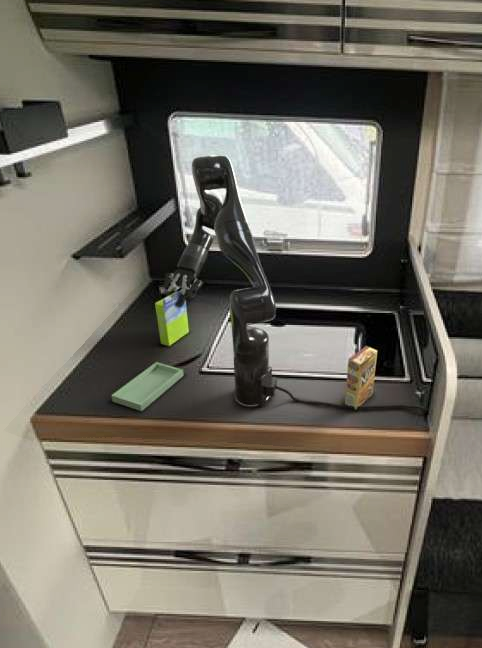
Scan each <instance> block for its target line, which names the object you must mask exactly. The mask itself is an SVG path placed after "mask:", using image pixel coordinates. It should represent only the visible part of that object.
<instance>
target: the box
mask: <svg viewBox="0 0 482 648" xmlns="http://www.w3.org/2000/svg"><path fill="white" fill-rule="evenodd" d="M181 293H182V289H180V290H178V291H176V292H175V293H173V294H171V295H169V296H167V297H166V296H165V297H166V298H165V297H164V298H162V299H160V300H158V301H156V302H155V303H154V307H155V313H156V320H157V325H158V333H159V339H160V344H161V345H164V346H168V347H171V346H172V345H173V344H174V343H176V342H177V341H179V340H180V339H181V338H183V337H185V336H186V335H187V334H188V333H190V329H189V322H188V321H189V320H188V310H187V301H186V300H187V299H186V300H185V303H184V305H183V306H182V307H178V306H176V303H177V301H178V299H179V296H180V295H182V294H181Z"/></svg>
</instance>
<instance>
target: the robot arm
mask: <svg viewBox="0 0 482 648" xmlns="http://www.w3.org/2000/svg"><path fill="white" fill-rule="evenodd" d="M191 173H192V178H193V182H194V183H193V184H194V187H195V190H196V193H197V197H198V199H199V208H198V209H197V211H196V214H195V222H194V228H193V232H192V234H191V237H190V239H189V241H188V243H187V245H186V247H185V248H184V250H183V253H182V255H181V256H180V258H179V261H178V263H177V265H176V267H177V268H176V270H175V271H174V272H172V273H170V272H166V273H165V275H164V284H163V289H164V290H165V291H167V292H166V294H165V297H164V298H166V297H167V296H169V295H171V294H173V293H175V292H178V291H177V290H179V289H180V288H181V290H182V293H181V294H182V295H180V296H179V299H178V301H177V303H176V306H178V307H182V306H183V305H184V303H185V300H187V298H189V297H191V298H193V297H194V296H195V295H196V293H197V292H198V291H199V290H200V289H201V287H202V286H203V285H204V282H203V281H201V280H200V279H198V276H199V275H200V274H201V271H202V269H203V267H204V265H205V262H206V260H207V258H208V253H209V250H210V248H211V246H212V244H213V243H214V237H213V235H212V234H211V233H209V231H206V230H205V229H204V228H203V227H205V228H206V229H210V230H212V231H214V234H215V237H216V238H215V239H216V241H217V245H218V248H219V250H220V252H221V253H222V255H223V256H224V257H225V258H226V259H228V261H230V263H232V264H233V265H234V266H236V267H237V268H238V269H239V270H240V271H242V273H243V274H244V275H245V277H246V278H247V280H248V281H249V283H250V285H251V286H252V287H246V288H240V289H235V290H232V291H231V292H230V294H229V297H228V306H229V307H228V308H229V316H230V323H231V324H230V325H231V338H232V351H233V353H232V354H233V355H232V356H233V373H234V374H233V375H234V398H235V399H234V400H235V402H236V403H237V404H238V405H239V406H241V407H243V408H250V409H251V408H263V406H265V404H266V403H267V402H268V401H269V399H270V398H271V397H274V396H275V394H276V390H278V391H281V392H284V393H286V394H287V395H288V396H289V397H290V398H291V399H292V400H293V401H294V402H298V403H301V404H308V405H320V406H321V405H322V406H328V407H333V408H334V407H335V408H341V409H352V410H353V409H354V410H355V408H354V406H348V405H346V404H338V403H333V402H332V403H331V402H325V401H315V400H303V399H301V398H300V399H299V398H297V397H295V396H294V395H293V394H292V393H291V391H289V390H288V389H286V388H284V387H281V386H278V377H275V376H273V367H272V366H270V338H269V334H268V333H267V331H266V330H264V329H263V328H259V327H256V326H253V325H257V324H261V323H262V324H263V323H265V322H271V321H272V320H274V319H275V318H276V314H277V307H276V301H275V297H274V294H273V291H272V289H271V286H270V284H269V281H268V279H267V276H266V274H265V271H264V269H263V267H262V264H261V261H260V257H259V254H258V251H257V248H256V244H255V240H254V238H253V233H252V230H251V227H250V223H249V221H248V218H247V215H246V212H245V209H244V207H243V204H242V200H241V197H240V192H239V188H238V184H237V180H236V176H235V171H234V168H233V164H232V162H231V160H230V158H229V157H228V156H227V155H223V154H222V155H221V154H217V155H207V156H206V155H205V156H199V157H196V158H193V160H192V162H191ZM222 189H224V190H225V194H224V199H223V198H222V196H221V195H220V193H219V192H218V191H217V190H222ZM387 408H388V409H389V408H409V409H418V410H421V411H424V412H425V413H427V412H426V410H424V408H425V407H424V406H422V405H414V404H413V405H412V404H401V403H400V404H398V403H397V404H382V405H381V404H379V405H361V406H358V407H357V409H356V410H365V409H387Z"/></svg>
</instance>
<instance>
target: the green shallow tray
mask: <svg viewBox="0 0 482 648" xmlns="http://www.w3.org/2000/svg"><path fill="white" fill-rule="evenodd" d="M184 373H185V372H184V369H181V368H179V367H175V366H171V365H168V364H164V363H162V362H158V361H156V362H155V363H153V364H152V365H150V366H149V367H147V368H146V369H144V371H142V372H140V374H138V375H136V377H134V378H132V379H131V380H130V381H129V382H127V383H125V384H124V385H123V386H122V387H121V388H119V389H117V391H115V392H113V393H112V394H111V401H112V402H113V403H116V404H119V405H121V406H125V407H128V408H131V409H133V410H135V411H136V410H137V411H139V412H143V411H144V410H145V409H146V408H148V407H149V406H150V405H151V404H152V403H153V402H155V401H156V400H157V399H158V398H159V397H160V396H161V395H163V394H164V393H165V392H166V391H167V390H169V388H171V387H172V386H173V385H174V384H176V383H177V382H178V381H179V380H180V379H182V378H183V377H184Z"/></svg>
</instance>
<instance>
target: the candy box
mask: <svg viewBox="0 0 482 648" xmlns="http://www.w3.org/2000/svg"><path fill="white" fill-rule="evenodd" d="M377 358H378V350H377V349H375V348H372V347H370V346H368V345H365V346H364V347H363V348H361V349H360V350H358V351H357V352H356V353H355V354H353V355H352V356H351V357H349V358H348V360H347V361H348V362H347V372H346V373H347V374H346V384H345V385H346V387H345V397H344V405H347V406H354V408H355V409H354V410H358V409H357V407H358V406H363V404H364V403H365V402H366V401H367V400H368V399H369V398H370V397H372V395H373V392H374V385H375V384H374V383H375V376H376V375H375V374H376V366H377Z"/></svg>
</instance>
